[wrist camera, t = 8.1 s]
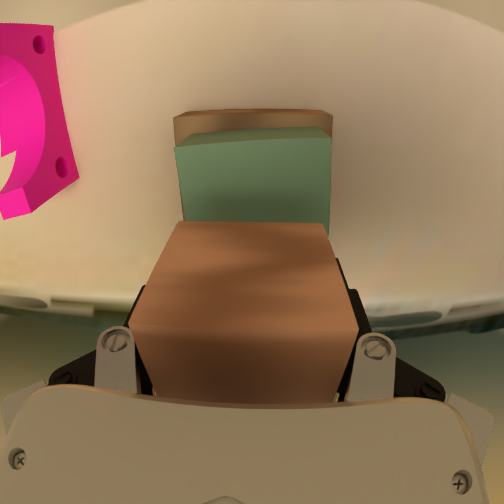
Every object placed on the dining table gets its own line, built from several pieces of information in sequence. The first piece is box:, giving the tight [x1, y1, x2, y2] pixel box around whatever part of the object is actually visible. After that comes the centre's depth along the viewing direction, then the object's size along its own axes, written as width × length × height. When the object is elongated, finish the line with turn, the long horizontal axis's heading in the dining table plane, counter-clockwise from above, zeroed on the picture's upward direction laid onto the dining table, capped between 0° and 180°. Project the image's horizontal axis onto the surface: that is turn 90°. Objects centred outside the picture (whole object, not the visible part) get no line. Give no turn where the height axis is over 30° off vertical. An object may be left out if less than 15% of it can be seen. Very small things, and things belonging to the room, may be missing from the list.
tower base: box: [173, 109, 333, 221], centre depth 22 cm, size 10×12×4 cm
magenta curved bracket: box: [0, 23, 79, 220], centre depth 17 cm, size 15×6×8 cm, turn 6°
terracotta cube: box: [128, 221, 359, 404], centre depth 11 cm, size 6×6×6 cm
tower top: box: [174, 127, 331, 236], centre depth 19 cm, size 8×10×4 cm
